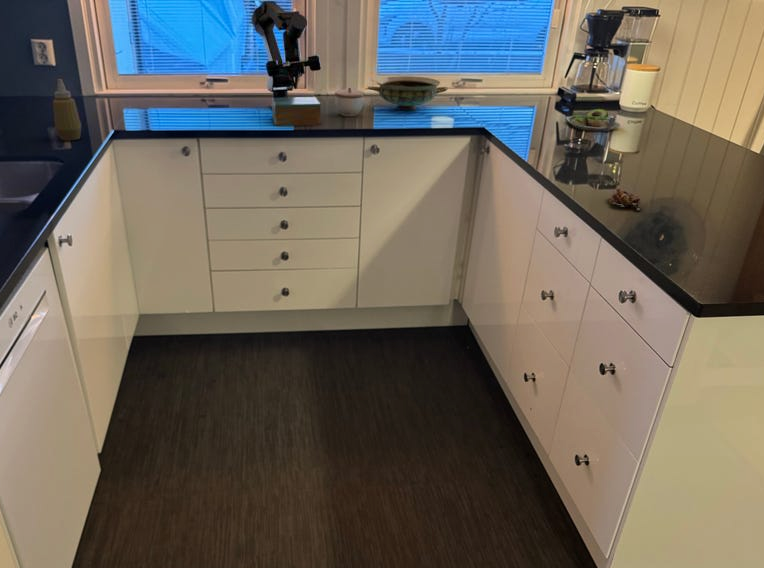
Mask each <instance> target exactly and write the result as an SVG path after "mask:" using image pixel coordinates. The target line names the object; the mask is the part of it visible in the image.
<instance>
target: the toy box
mask: <svg viewBox="0 0 764 568" xmlns="http://www.w3.org/2000/svg"><path fill="white" fill-rule="evenodd" d="M271 105H272V106H271V113H272V120H273V123H274V125H275V127H288V126H289V127H290V126H318V125H319V126H320V125H321V106H310V107H275V105H274V103H273V101H272V100H271Z"/></svg>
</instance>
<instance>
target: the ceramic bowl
mask: <svg viewBox="0 0 764 568" xmlns="http://www.w3.org/2000/svg"><path fill="white" fill-rule="evenodd" d="M375 82H376V84H377V85H379V86H372V85H371V86H367V89H368V90H370V91H375V92H378V94H379V96H380V98H382V99H383V100H385V101H386V102H388V103H390V104H393V105H397V106H396V107H395V108H396V109H397V110H401V111H416V110H417V109H418V107H417V106H420V105H423V104H426V103H428V102H431V101H432V100H433V99H435V97H436V96H437V95H438V94H440V93H444V92H446V91H448V89H449V88H448V87H447V86H441V87H438V86H439V85H441V81H440V80H438V79H434V78H431V77H430V78H429V77H423V76H405V75H404V76H403V75H402V76H399V75H398V76H387V77H386V76H385V77H380V78H378V79H377V80H376V81H375Z"/></svg>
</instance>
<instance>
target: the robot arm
mask: <svg viewBox="0 0 764 568" xmlns="http://www.w3.org/2000/svg"><path fill="white" fill-rule="evenodd" d="M251 24H252V26H253V28H254V30H255V32H256V33H257V34H258V35H259V36H261V38H262V41H263V44H264V48H265V52H266V55H267V58H268V60H267V61H266V62H265V69H266V72H267V75H268V77H269V78H268V80H267V84H266V86H267V87H266V88H267V91H268V92H270V93H272V98H289V95H288V94H289V92H290V91H291V92H292V91H293V89H294V90H297V89H298V85H299V82H300V80H301V79H300V78H301V77H302V76H303V75H304V74H306V71H305V68H306V67H309V70H310V71H312V72H317V71H320V70H322V67H321V58H320V55H319V54H311V55H308V56H307V59H306V60H302V54H301V44H300V39H301V37H303V34H304V32H305V30H306V28H307V25H308V20H307V18H306V17H305V16H304V15H302V14H300V11H298V10H297V11H292V10H291V11H290V10H285V9H283V8H282V7H281V6H280V5H278V4H277V2H276V1H275V0H263V1H262V2H261V3H260V5H259V6H258V7H256V8H255V9H254V10H253V13H252V15H251ZM275 27H276V29H277V30H278V31H283V33H282V44H283V55H284V56H283V57H284V60H283V57H282V54H281V51H280V48H279V44H278V41H277V38H276V34H275V31H274V28H275ZM270 106H271V107H272V104H271V105H270Z"/></svg>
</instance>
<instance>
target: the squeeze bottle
mask: <svg viewBox="0 0 764 568" xmlns="http://www.w3.org/2000/svg"><path fill="white" fill-rule="evenodd" d="M52 104H53V105H52V107H53V118H54V129H55V131H56V133H57V135H58V137H59V139H60V140H61V141H67V142H70V141H71V142H72V141H76V140H79V139H80V138H81V133H82V123H81V118H80V115H79V112H78V108H77V104H76V100H75V99H74V98H72V95H71V91H70V90H67V89H66V86H65V84H64V81H63V79H62V78H58V79H57V90H56V91H54V99H53V100H52Z"/></svg>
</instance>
